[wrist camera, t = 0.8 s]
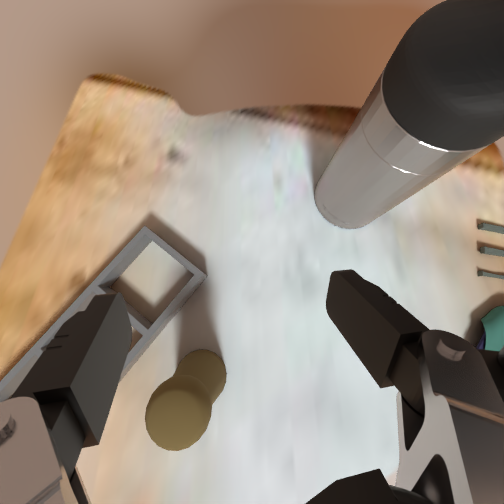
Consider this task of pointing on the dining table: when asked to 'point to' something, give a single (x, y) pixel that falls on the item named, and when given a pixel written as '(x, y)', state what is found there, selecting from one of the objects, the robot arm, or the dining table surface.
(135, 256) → the frame
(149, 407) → the cork
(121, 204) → the dining table surface
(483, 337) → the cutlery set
